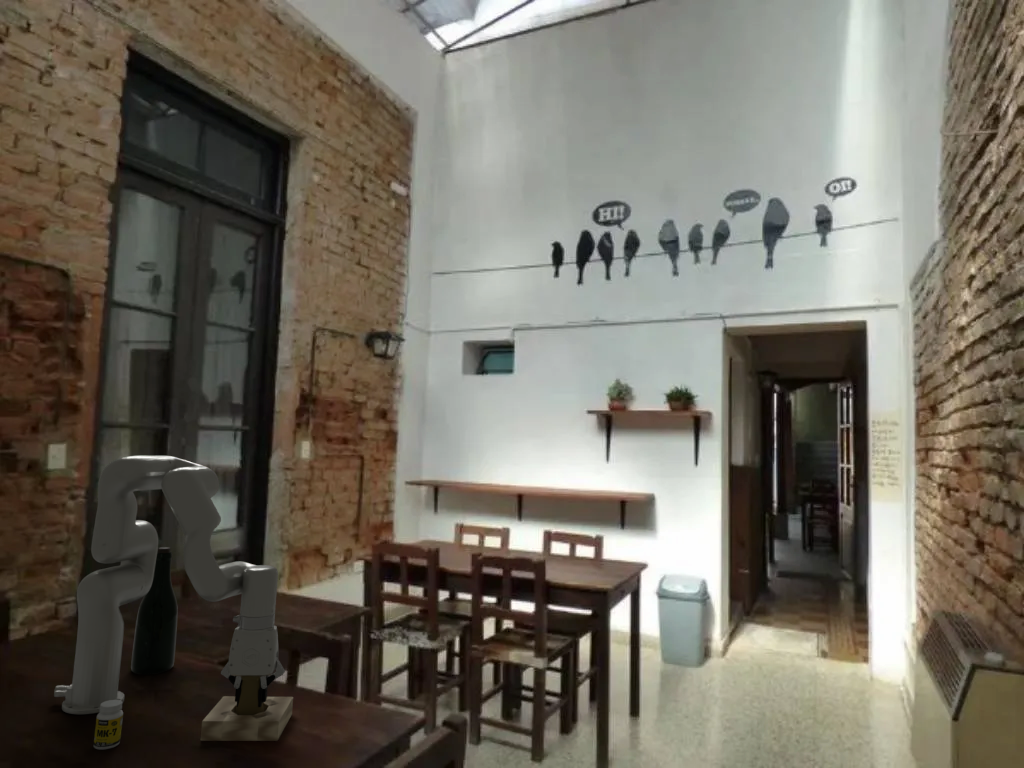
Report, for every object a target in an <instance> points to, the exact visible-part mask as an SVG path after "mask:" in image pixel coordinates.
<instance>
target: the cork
mask: <svg viewBox="0 0 1024 768" xmlns="http://www.w3.org/2000/svg"><path fill="white" fill-rule="evenodd" d="M260 677H261V676H241V679H242V685H241V695H240V699H239V704H238V707H237V708H236V712H235V714H237V715H255V714H258V713H261V712H263V703H262V706H261V707H258V691H259V689H260V686H261V679H260Z"/></svg>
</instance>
